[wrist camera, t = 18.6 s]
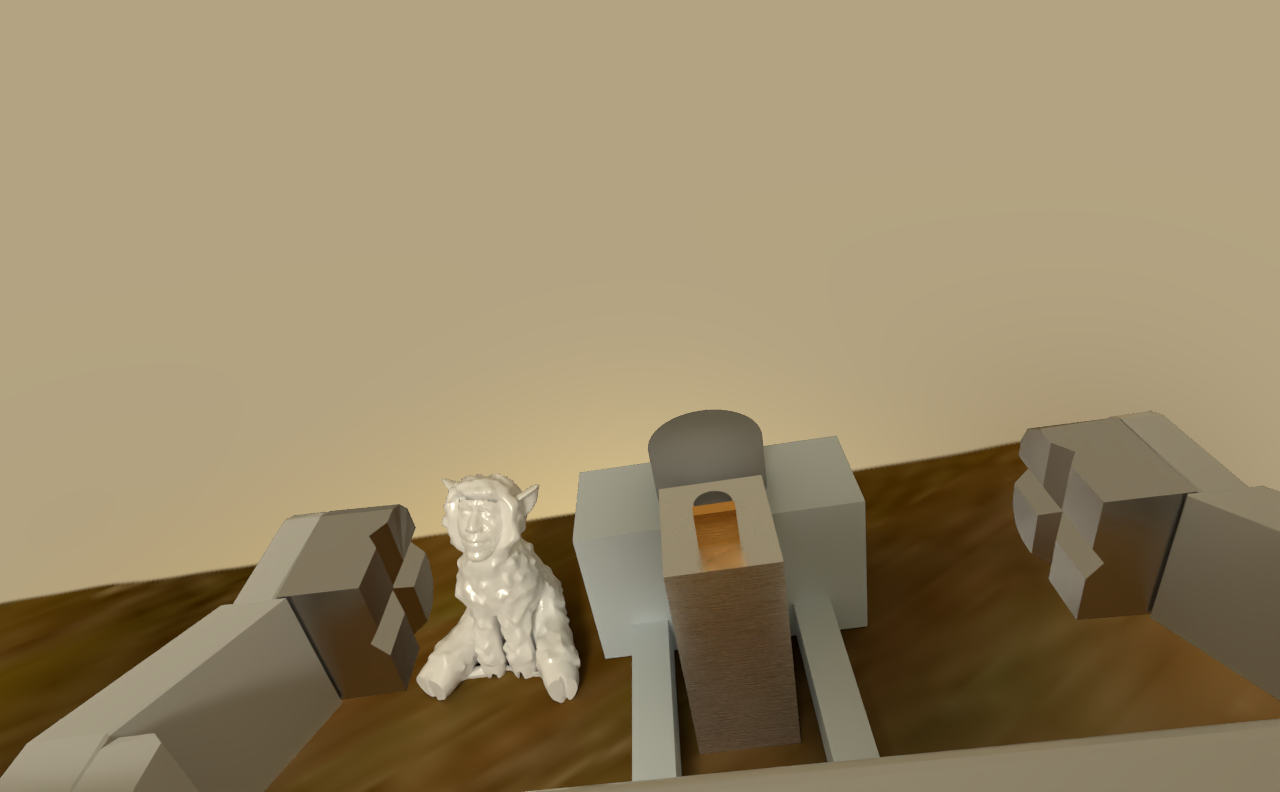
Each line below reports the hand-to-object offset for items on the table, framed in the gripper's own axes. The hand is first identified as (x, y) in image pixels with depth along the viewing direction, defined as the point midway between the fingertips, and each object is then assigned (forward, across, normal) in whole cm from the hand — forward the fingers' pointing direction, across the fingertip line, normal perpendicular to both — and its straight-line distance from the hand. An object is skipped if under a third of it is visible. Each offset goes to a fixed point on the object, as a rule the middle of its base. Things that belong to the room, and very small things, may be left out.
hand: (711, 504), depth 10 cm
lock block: (+18, -1, +28) cm, 33 cm away
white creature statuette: (+23, +12, +28) cm, 39 cm away
